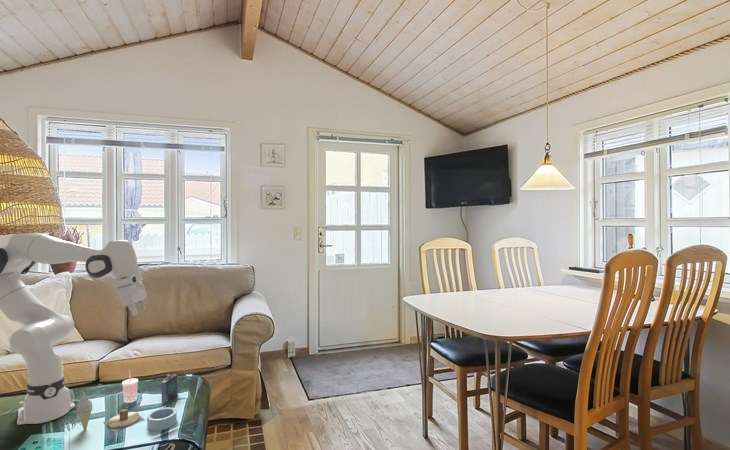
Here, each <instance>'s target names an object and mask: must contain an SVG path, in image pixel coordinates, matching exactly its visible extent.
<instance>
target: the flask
mask: <svg viewBox="0 0 730 450" xmlns="http://www.w3.org/2000/svg"><path fill="white" fill-rule="evenodd" d="M165 376H166V378H165V379H163V380H162V381H161V382H160V383H161V402H162V403H165V402H168V401H169V399H170V400H172V399H173V398H174V397H175V396H177V395H178V374H169V373H166V375H165Z"/></svg>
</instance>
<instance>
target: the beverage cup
mask: <svg viewBox="0 0 730 450" xmlns="http://www.w3.org/2000/svg"><path fill="white" fill-rule="evenodd" d="M128 374H129V376H128V377H129V378H128V379H124V380H123V381H122V382H121V385H122V392H123V399H124V400H123V401H124V403H125V404H130V403H134V402H136V401H138V383H139V379H138V378H132V377H131V369H128Z"/></svg>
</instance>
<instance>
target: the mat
mask: <svg viewBox="0 0 730 450" xmlns="http://www.w3.org/2000/svg"><path fill="white" fill-rule="evenodd" d="M132 412H135V411H134V410H133V411H132ZM109 420H110V419H108V420H105V421H103V424H104V425H105V426H106V427H108V428H109V429H110V430H111V431H112V432H113V433H114V432H115V433H116V432H117V431H120V430H122V429H125V428H127V427H130V426H133V425H135V424H138V423H141V422H143V421H145V419H144V418H143V417H142V416H141V415H139V420H138V421H136V422H135V423H133V424H131V425H129V426H126V427H121V428H111V427H109V426H108V421H109Z"/></svg>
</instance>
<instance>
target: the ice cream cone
mask: <svg viewBox="0 0 730 450" xmlns="http://www.w3.org/2000/svg"><path fill="white" fill-rule="evenodd" d="M75 407H76V409H75V410H76V413H77V415H78V418H79V421H80V423H81V425H82V426H81V427H82V429H83V430H84V431H86V430H87V428H88V424H89V421H90V418H91V414H92V411H93V409H94V408H93V402H92V400H91V399H89V397H88V395H87V394H86V392H85V391H83V392H82V394H81V396H80V398H79V402H78V403H77V405H75Z"/></svg>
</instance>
